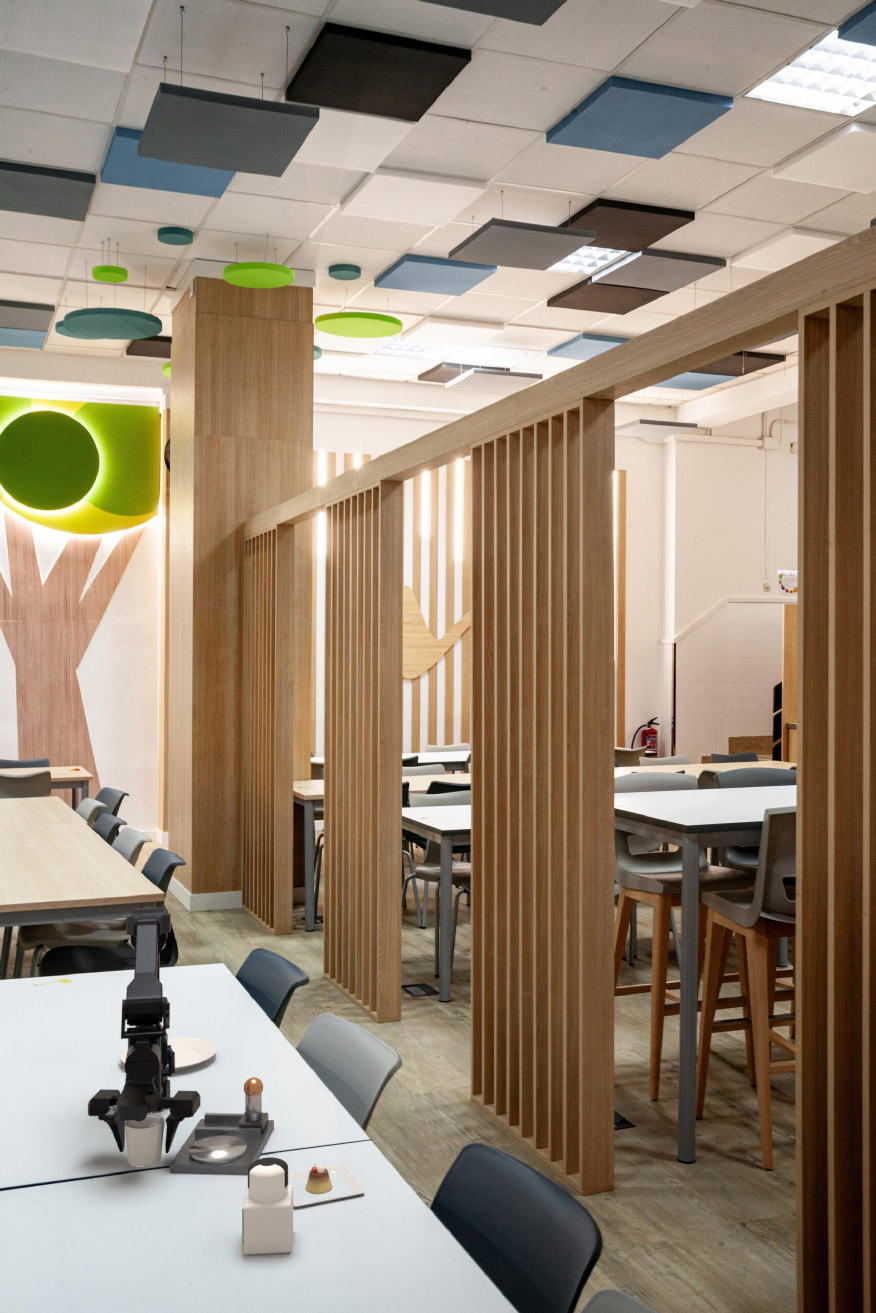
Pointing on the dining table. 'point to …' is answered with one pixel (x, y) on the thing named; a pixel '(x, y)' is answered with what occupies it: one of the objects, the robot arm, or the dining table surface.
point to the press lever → (253, 1105)
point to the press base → (221, 1146)
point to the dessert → (324, 1182)
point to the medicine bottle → (267, 1208)
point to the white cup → (144, 1140)
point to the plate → (187, 1052)
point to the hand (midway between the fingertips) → (144, 1151)
